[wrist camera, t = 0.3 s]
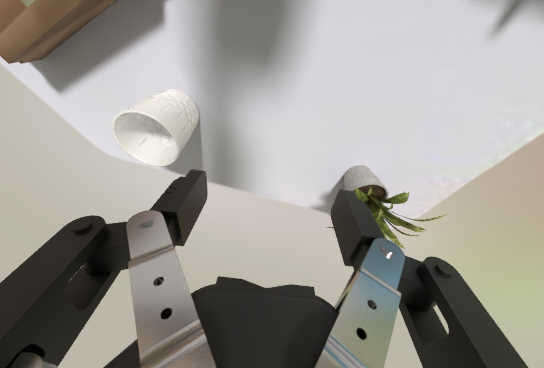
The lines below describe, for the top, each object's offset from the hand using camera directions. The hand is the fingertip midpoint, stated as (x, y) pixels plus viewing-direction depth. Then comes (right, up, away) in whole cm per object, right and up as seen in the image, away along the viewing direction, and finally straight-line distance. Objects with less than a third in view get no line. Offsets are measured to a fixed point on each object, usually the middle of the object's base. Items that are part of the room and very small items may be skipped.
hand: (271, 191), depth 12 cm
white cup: (-15, +13, +20) cm, 28 cm away
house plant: (+17, +3, +26) cm, 32 cm away
